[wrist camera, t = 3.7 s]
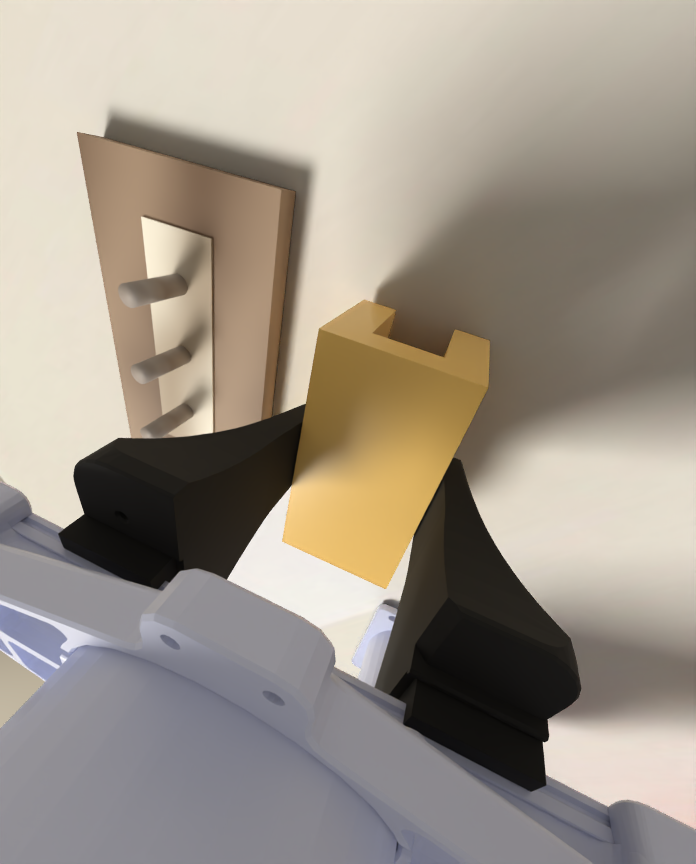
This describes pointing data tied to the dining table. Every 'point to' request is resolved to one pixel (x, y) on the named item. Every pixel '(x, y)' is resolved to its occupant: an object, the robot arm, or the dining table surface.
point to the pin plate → (189, 286)
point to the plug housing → (377, 439)
